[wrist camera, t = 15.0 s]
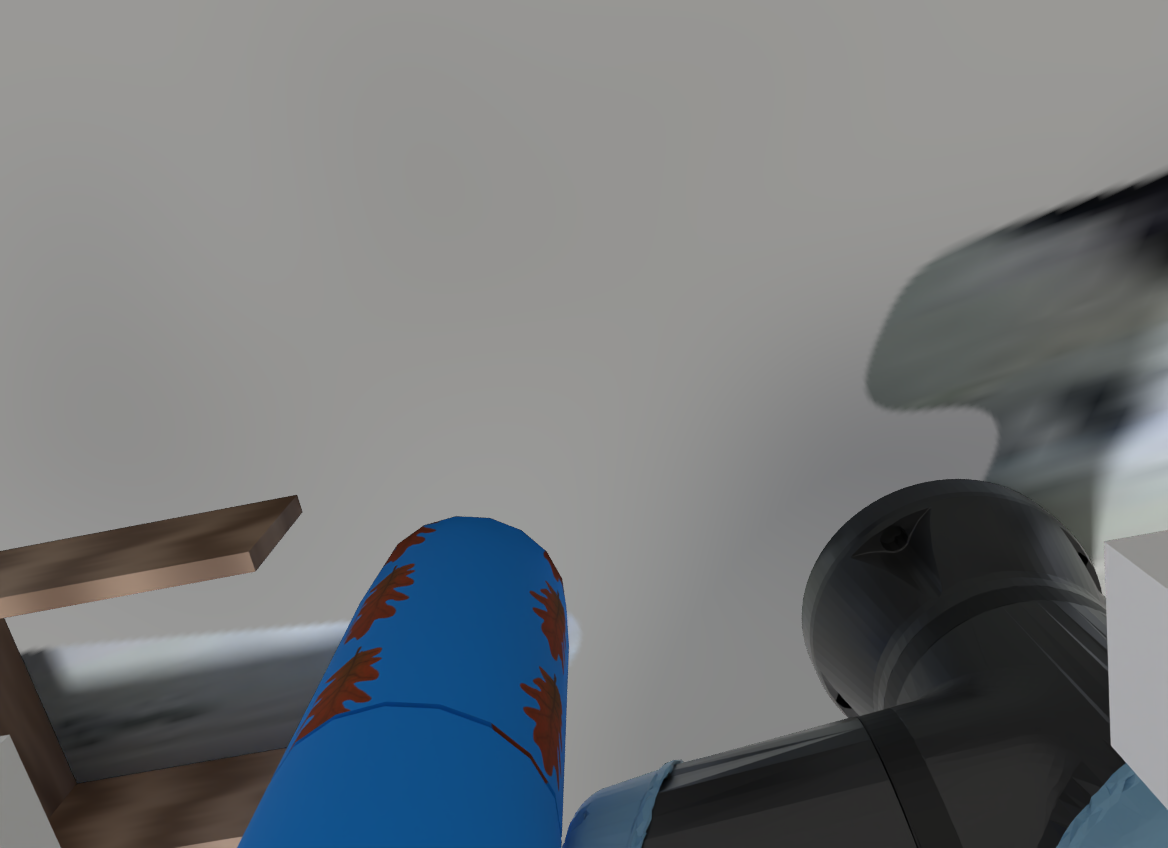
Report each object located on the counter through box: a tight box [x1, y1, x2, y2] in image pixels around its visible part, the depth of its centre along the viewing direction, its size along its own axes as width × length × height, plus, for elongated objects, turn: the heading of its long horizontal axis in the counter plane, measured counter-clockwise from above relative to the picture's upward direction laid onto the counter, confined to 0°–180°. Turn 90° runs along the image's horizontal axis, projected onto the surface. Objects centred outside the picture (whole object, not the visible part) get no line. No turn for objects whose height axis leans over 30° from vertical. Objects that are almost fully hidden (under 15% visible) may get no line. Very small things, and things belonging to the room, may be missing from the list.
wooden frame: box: [0, 495, 302, 848], centre depth 46 cm, size 19×16×8 cm
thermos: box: [237, 516, 569, 848], centre depth 37 cm, size 11×11×25 cm
